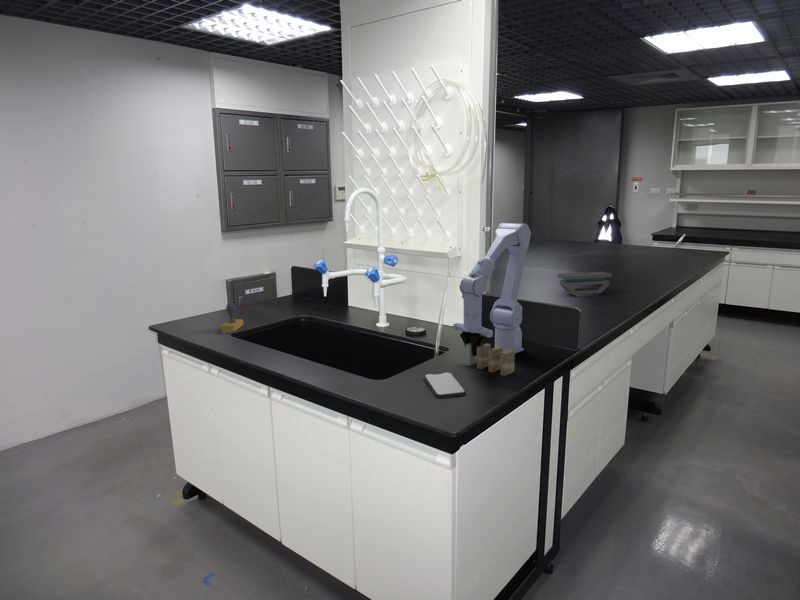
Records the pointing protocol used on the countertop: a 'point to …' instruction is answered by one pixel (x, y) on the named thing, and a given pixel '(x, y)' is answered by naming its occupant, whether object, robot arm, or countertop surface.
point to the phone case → (444, 385)
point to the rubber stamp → (231, 320)
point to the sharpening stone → (585, 282)
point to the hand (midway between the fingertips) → (472, 354)
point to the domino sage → (470, 355)
